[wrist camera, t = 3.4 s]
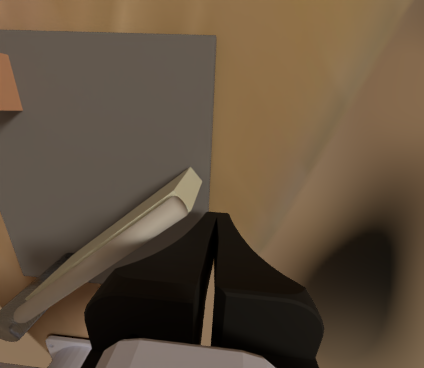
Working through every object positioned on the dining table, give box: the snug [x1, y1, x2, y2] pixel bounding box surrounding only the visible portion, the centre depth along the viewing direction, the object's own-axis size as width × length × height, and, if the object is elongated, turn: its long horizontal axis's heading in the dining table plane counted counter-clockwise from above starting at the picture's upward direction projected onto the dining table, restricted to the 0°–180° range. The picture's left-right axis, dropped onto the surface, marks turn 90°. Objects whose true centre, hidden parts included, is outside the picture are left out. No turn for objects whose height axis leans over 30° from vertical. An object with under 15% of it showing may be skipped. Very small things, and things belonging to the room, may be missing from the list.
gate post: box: [0, 253, 74, 342], centre depth 14 cm, size 2×2×6 cm
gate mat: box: [0, 30, 216, 284], centre depth 14 cm, size 18×16×1 cm
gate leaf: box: [14, 167, 202, 323], centre depth 12 cm, size 12×1×5 cm, turn 127°
